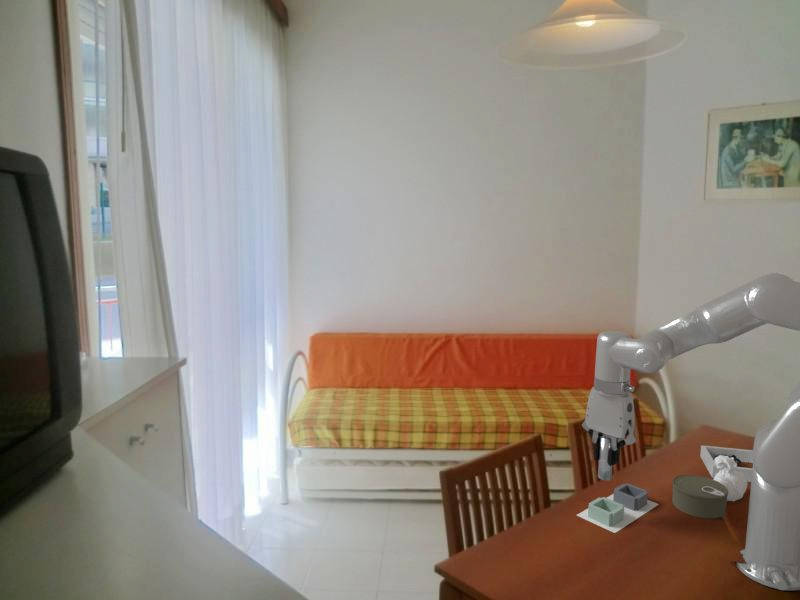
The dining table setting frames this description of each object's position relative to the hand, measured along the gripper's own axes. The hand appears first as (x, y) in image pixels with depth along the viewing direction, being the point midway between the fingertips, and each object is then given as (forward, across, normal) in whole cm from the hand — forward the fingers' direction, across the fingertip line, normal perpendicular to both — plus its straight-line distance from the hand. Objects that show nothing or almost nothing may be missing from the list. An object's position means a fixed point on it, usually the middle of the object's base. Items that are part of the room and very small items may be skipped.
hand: (605, 460), depth 132 cm
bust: (+15, -14, -37) cm, 42 cm away
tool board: (+15, -1, -6) cm, 16 cm away
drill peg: (+4, 0, 0) cm, 4 cm away
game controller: (+15, -7, -54) cm, 56 cm away
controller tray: (+15, -9, -54) cm, 57 cm away
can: (+15, -12, -22) cm, 30 cm away
